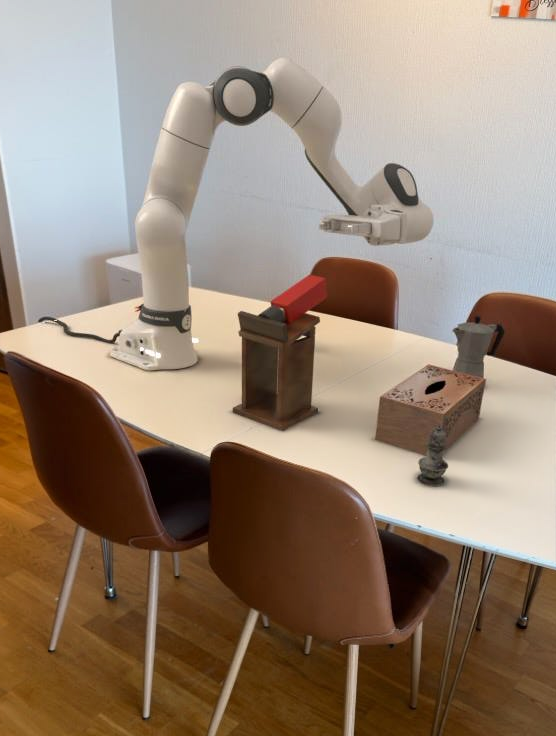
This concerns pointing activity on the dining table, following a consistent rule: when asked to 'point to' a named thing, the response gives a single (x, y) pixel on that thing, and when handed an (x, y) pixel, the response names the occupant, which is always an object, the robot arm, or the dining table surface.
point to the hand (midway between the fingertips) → (335, 227)
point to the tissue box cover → (429, 408)
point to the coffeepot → (475, 346)
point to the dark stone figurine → (433, 459)
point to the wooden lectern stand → (277, 369)
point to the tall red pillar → (297, 300)
